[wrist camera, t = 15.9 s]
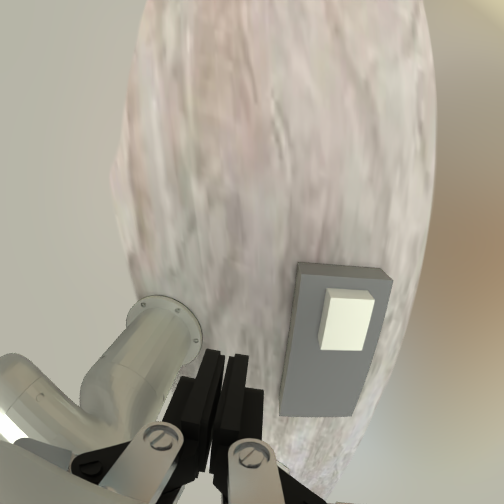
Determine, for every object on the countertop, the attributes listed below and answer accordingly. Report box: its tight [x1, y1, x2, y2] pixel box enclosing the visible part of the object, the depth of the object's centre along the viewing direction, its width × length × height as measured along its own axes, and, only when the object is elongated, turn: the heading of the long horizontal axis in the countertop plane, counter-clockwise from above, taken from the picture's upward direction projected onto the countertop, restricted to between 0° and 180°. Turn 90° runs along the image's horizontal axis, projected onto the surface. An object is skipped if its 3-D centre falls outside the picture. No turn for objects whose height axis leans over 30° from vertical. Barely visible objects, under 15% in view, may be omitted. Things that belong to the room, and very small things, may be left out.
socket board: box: [279, 262, 393, 417], centre depth 39 cm, size 24×12×5 cm, turn 176°
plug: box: [318, 288, 375, 351], centre depth 36 cm, size 7×5×8 cm
